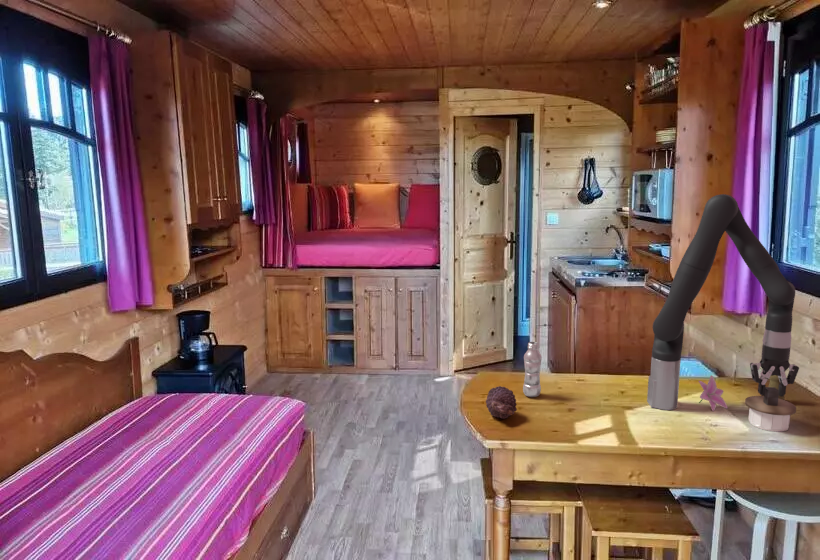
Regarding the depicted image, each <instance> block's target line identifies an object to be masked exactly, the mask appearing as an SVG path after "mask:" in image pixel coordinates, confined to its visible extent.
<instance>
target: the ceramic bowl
mask: <svg viewBox="0 0 820 560" xmlns="http://www.w3.org/2000/svg"><path fill="white" fill-rule="evenodd" d="M790 420H791V415H772V414H766V413H762V412H759V411H756V410H753V409H751V408H749V410H748V423H749V424H750V425H751V426H753V427H755V428H758V429H761V430H764V431H769V432H776V433H777V432H786V431H788V430H789V429H790V428H789V426H790Z"/></svg>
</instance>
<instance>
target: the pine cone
mask: <svg viewBox="0 0 820 560" xmlns="http://www.w3.org/2000/svg"><path fill="white" fill-rule="evenodd" d="M485 403H486V404H485V405H486V408H487V410H488V412H489V413H490V415H491V416H493V417H494V418H500V419H503V420H504V419H508V418H509V417H511V416H512V415H514V414H515V412H517V410H518V409H517V404H518V403H517V399H516V395H515V394H514V391H513V390H511V389H509V388H508V387H505V386H501V385H498V386H495V387H492V388H491V389H490V390H489V391H488V392H487V396H486V400H485Z"/></svg>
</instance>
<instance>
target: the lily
mask: <svg viewBox="0 0 820 560" xmlns="http://www.w3.org/2000/svg"><path fill="white" fill-rule="evenodd" d="M698 383H699V384H700V386H701V388H702V390H703V391H702V392H701V394H700V395H699V398H700V401H699V402H698V403H699V404H700V403H701V402H702V401H703V400H704V401H708V402H709V405H710V408H711V411H712V412H715V409H716V405H718V406H721V407H722V408H724V409H728V405H727V403H726V401H725V400H724V398H723V397H722V395H723V394H724V389H721V388H719V387H717V382H716V379H715V378H714V375H710V376H709V380H708V382H707V383H706V382H704V381H701V380H698Z"/></svg>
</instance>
